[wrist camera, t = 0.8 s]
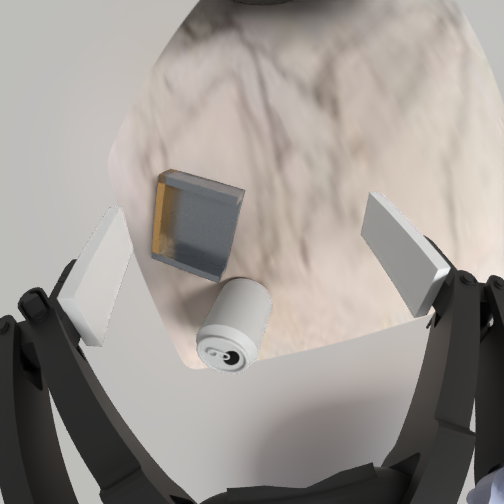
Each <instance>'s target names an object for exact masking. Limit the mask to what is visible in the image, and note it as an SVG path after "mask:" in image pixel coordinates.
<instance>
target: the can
mask: <svg viewBox="0 0 504 504" xmlns="http://www.w3.org/2000/svg"><path fill="white" fill-rule="evenodd" d="M271 309H272V298H271V296H270V294H269V292H268V291H267V290H266V289H265V287H264V286H262V285H261V284H259V283H258V282H256V281H253V280H250V279H242V278H238V279H234V280H231V281H229V282H228V283H226V284H225V286H224V287H223V289H222V290H221V292H220V294H219V296H218V297H217V299H216V301H215V303H214V304H213V306H212V308H211V310H210V312H209V313H208V315H207V317H206V319H205V320H204V322H203V324H202V326H201V328H200V329H199V331H198V333H197V337H196V342H197V353H198V356H199V357H200V359H201V360H202V362H203V363H205V364H206V365H207V366H208V367H210V368H212V369H213V370H215V371H218V372H221V373H225V374H238V373H241V372H243V371H245V370H246V369H247V368H248V366H250V365H251V364H253V363H254V362H255V360H256V358H257V355H258V352H259V349H260V345H261V342H262V339H263V336H264V332H265V329H266V326H267V322H268V319H269V316H270V312H271Z"/></svg>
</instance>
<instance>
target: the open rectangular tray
mask: <svg viewBox="0 0 504 504" xmlns="http://www.w3.org/2000/svg"><path fill="white" fill-rule="evenodd" d="M244 193H245V190H243V189H239V188H236V187H233V186H230V185H226V184H223V183H220V182H216V181H213V180H209V179H206V178H202V177H199V176H195V175H192V174H188V173H184V172H181V171H177V170H173V169H170V170H168V171H165V172H163V173H161V174H159V179H158V187H157V196H156V206H155V217H154V228H153V242H152V258H153V259H156V260H158V261H161V262H164V263H166V264H169V265H171V266H174V267H176V268H179V269H182V270H184V271H187V272H189V273H192V274H195V275H197V276H200V277H203V278H205V279H208V280H211V281H214V282H216V283H219V281H220V279H221V278H222V276H223V274H224V273H225V271H226V266H227V262H228V258H229V254H230V250H231V246H232V241H233V237H234V233H235V229H236V225H237V221H238V217H239V213H240V209H241V205H242V201H243V197H244Z"/></svg>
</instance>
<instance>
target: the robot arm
mask: <svg viewBox="0 0 504 504" xmlns="http://www.w3.org/2000/svg"><path fill="white" fill-rule="evenodd" d="M233 1H237V2H241V3H246V4H254V5H270V4H278V3H284V2H288V1H292V0H233ZM361 236H362V237H363V239H364V240H365V241H366V243H367V244H368V246H369V247H370V249H371V250H372V252H373V253H374V255H375V256H376V257H377V259H378V260H379V262H380V264H381V265H382V267H383V268H384V270H385V271H386V273H387V274H388V276H389V277H390V279H391V281H392V282H393V284H394V285H395V287H396V289H397V290H398V292H399V293H400V295H401V297H402V298H403V300H404V302H405V303H406V305H407V307H408V308H409V310H410V312H411V313H412V315H413V317H414V318H416V317H421V316H425V315H427V314H428V312H429V310H430V308H431V306H433V307H434V309H435V313H434V315H433V317H432V318H431V320H430V321H429V323H428V325H427V327H426V328H427V329H428V328H429V326H430V325H431V328H430V333H429V338H428V342H427V347H426V351H425V356H424V360H423V364H422V368H421V371H420V375H419V379H418V382H417V386H416V389H415V393H414V395H413V398H412V402H411V405H410V408H409V411H408V414H407V416H406V419H405V422H404V424H403V427H402V430H401V432H400V435H399V437H398V440H397V442H396V444H395V446H394V448H393V449H392V450H391V452H390V453H389V454H388V455H387V457H386V458H385V460H384V462H383V464H382V465H381V467H374V466H373V463H369V464H366V465H362V466H359V467H356V468H352V469H349V470H345V471H341V472H339V473H337V474H335V475H333V476H331V477H329V478H327V479H325V480H323V481H321V482H318V483H316V484H314V485H312V486H310V487H307V488H287V487H273V486H255V487H241V488H227V492H224V493H220V494H218V495H215V496H212V497H210V498H208V499H206V500H205V501H203V502H202V503H200V504H457V502H458V499H459V496H460V494H461V491H462V488H463V485H464V482H465V479H466V476H467V473H468V469H469V466H470V462H471V459H472V455H473V451H474V447H475V456H474V458H475V459H474V479H475V488H474V489H472V490H471V491H470V492H469V493H468V495H467V498H466V500H467V503H468V504H504V280H503V279H502V278H501V277H498V276H496V275H491V276H490V277H489V279H488V280H487V282H486V283H479V282H478V281H477V280H476V278H475V277H474V276H473V275H472V274H470V273H469V272H467V271H463V270H457V269H456V268H455V267H454V265H453V264H452V263H451V262H450V261H449V259H448V258H447V257H446V256H445V255H444V254H443V252H442V251H441V250H440V249H438V247H437V246H436V245H435V243H434V242H433V241H432V240H430V239H429V238H427V237H426V236H424V235H422V234H421V233H420V232H419V230H418V229H417V228H416V227H415V226H414V225H413V224H412V223H411V222H410V221H409V220H408V219H407V218H406V217H405V216H404V215H403V214H402V213H401V212H400V211H399V210H398V209H397V208H396V207H395V206H394V205H393V204H392V203H391V202H390V201H389V200H388V199H387V198H386V197H385V196H384V195H383V194H382V193H381V192H369V196H368V201H367V206H366V211H365V216H364V221H363V225H362V230H361ZM133 250H134V249H133V245H132V242H131V238H130V235H129V231H128V227H127V224H126V220H125V216H124V212H123V208H122V206H118V207H110V208H109V209H108V210H107V212H106V213H105V215H104V216H103V218H102V219H101V221H100V222H99V224H98V226H97V227H96V229H95V230H94V232H93V233H92V235H91V237H90V238H89V240H88V242H87V244H86V245H85V247H84V249H83V250H82V252H81V254H80V256H79V258H78V259H74V260H72V261H71V262H70V263H69V264H68V265H67V266H66V267H65V269H64V271H63V272H62V274H61V276H60V278H59V280H58V283H56V285H55V287H54V289H53V291H52V293H51V295H50V297H49V298H48V297H47V295H46V293H45V292H44V290H43V289H42V288H39V287H37V288H32V289H30V290H28V291H27V292H26V293H24V294H23V296H22V297H21V298H20V300H19V302H18V309H19V311H20V312H21V313H22V315H23V316H24V318H25V319H26V320H25V321H22V322H18V323H17V322H16V320H15V319H14V318H13V316H11V315H6V316H3V317H2V318H0V489H1V492H2V496H3V500H4V504H79V503H78V501H77V498H76V496H75V493H74V491H73V488H72V485H71V482H70V479H69V476H68V473H67V470H66V467H65V463H64V460H63V457H62V453H61V449H60V446H59V441H58V437H57V433H56V429H55V424H54V419H53V414H52V409H51V403H50V396H49V390H50V393H51V395H52V398H53V400H54V403H55V405H56V407H57V410H58V412H59V414H60V416H61V418H62V420H63V423H64V425H65V427H66V429H67V431H68V433H69V435H70V437H71V439H72V441H73V442H74V444H75V446H76V448H77V450H78V452H79V453H80V455H81V457H82V459H83V460H84V462H85V464H86V465H87V467H88V469H89V470H90V472H91V473H92V475H93V477H94V478H95V480H96V481H97V483H98V485H99V486H100V489H101V490H100V494H99V495H100V498H101V501H102V502H103V504H197V503H196V502H195V501H194V500H193V499H192V498H191V497H190V496H189V495H188V494H187V493H186V492H185V491H184V490H183V489H182V488H181V487H180V486H178V485H177V484H176V483H175V482H174V481H172V480H171V479H170V478H169V477H168V476H167V475H166V473H165V472H164V471H163V470H162V469H161V468H160V466H159V465H158V464H157V463H156V462H155V461H154V459H153V458H152V457H151V456H150V455H149V453H148V452H147V451H146V450H145V448H144V447H143V446H142V444H141V443H140V442H139V440H138V439H137V438H136V437H135V435H134V434H133V433H132V431H131V430H130V429H129V427H128V426H127V424H126V423H125V421H124V420H123V418H122V417H121V415H120V414H119V412H118V411H117V409H116V408H115V406H114V405H113V403H112V402H111V400H110V399H109V397H108V396H107V394H106V393H105V391H104V389H103V387H102V386H101V384H100V382H99V380H98V379H97V377H96V375H95V374H94V372H93V370H92V368H91V367H90V365H89V363H88V361H87V359H86V357H85V355H84V353H83V351H82V349H81V348H80V346H79V345H78V343H79V341H80V338H82V340H83V341H84V342H85V344H86V345H87V346H100V347H101V346H102V345H103V341H104V337H105V334H106V330H107V327H108V323H109V320H110V316H111V313H112V310H113V307H114V304H115V301H116V297H117V295H118V292H119V289H120V286H121V283H122V280H123V277H124V274H125V271H126V269H127V266H128V263H129V260H130V258H131V255H132V253H133ZM492 318H493V320H494V321H493V325H492V326H490V323H489V322H490V320H491V319H492ZM48 388H49V390H48ZM474 398H475V413H476V414H475V416H476V432H472V431H470V428H469V427H470V421H471V416H472V410H473V404H474Z"/></svg>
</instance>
